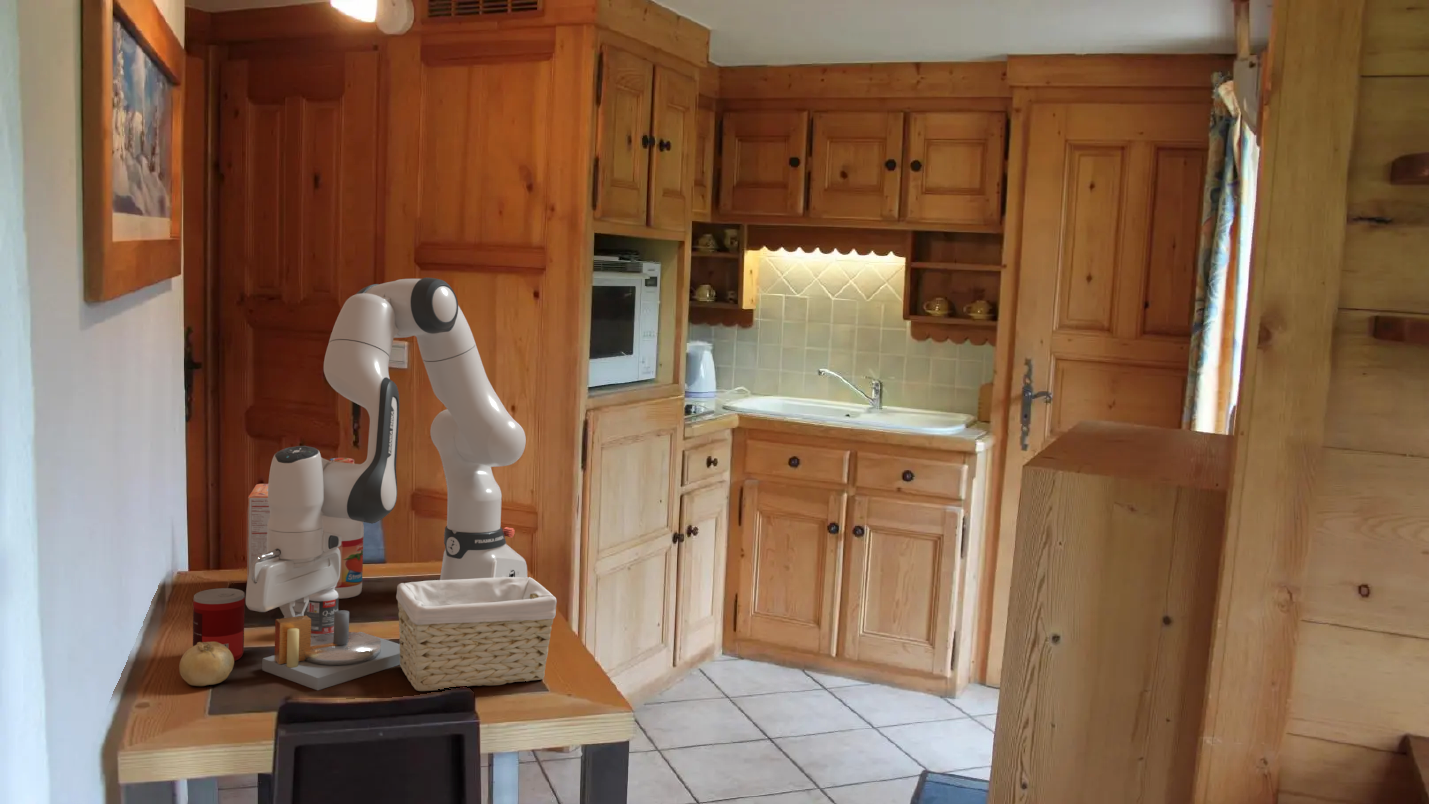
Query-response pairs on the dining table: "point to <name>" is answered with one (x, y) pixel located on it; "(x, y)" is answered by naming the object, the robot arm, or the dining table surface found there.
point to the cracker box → (257, 523)
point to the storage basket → (474, 631)
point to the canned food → (220, 618)
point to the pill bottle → (322, 611)
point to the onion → (206, 664)
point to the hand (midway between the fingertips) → (293, 623)
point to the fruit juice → (347, 549)
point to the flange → (324, 644)
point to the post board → (330, 674)
